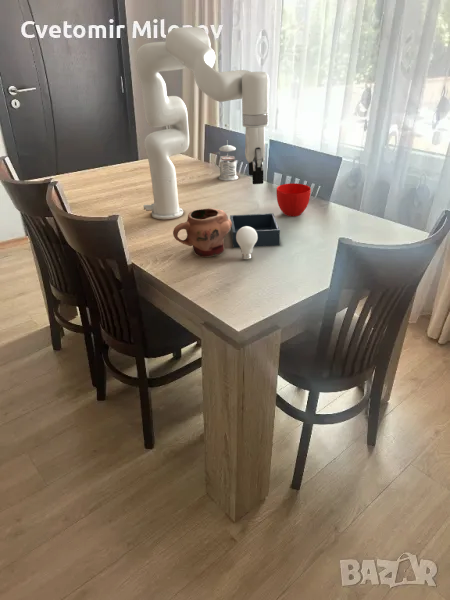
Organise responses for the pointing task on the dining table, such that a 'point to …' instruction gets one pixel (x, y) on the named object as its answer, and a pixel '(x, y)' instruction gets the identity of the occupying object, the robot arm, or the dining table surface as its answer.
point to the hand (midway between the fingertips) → (255, 179)
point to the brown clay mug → (205, 231)
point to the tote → (257, 228)
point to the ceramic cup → (293, 198)
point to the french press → (226, 173)
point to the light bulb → (246, 241)
